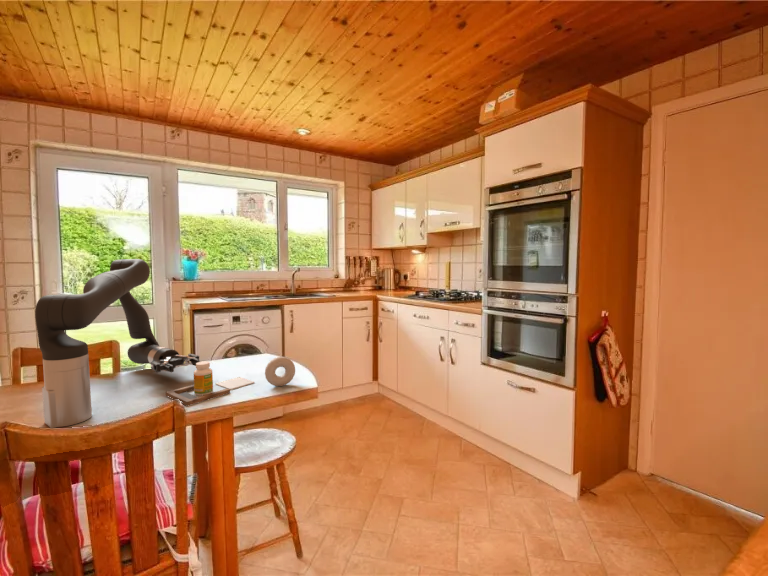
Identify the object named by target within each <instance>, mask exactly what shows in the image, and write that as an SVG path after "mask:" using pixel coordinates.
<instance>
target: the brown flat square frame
mask: <svg viewBox="0 0 768 576" xmlns="http://www.w3.org/2000/svg"><path fill="white" fill-rule="evenodd" d="M191 391H194V384H191V385H187V386H183V387H180V388H179V387H178V388H176V389H171V390H168V391H165V397H167V396H169V397H168V398H170V397H171V398H170V399H172V398H173V399H172V400H174V399H179V400H180V401H182V402H183V404H182V405H185V406H186V405H187V406H188V405H189V406H192V405H195V404H198V402H199V403H201V402H205V401H209V400H211V399H215V398H218V397H221V396H224V395H228V394H231V390H230V389H228V388H227V389H226V388H223V389H221V390H217V391H213V392H212V393H210V394H206V395H198V396H197V395H195V394H194V395H193V394H191V393H189V392H191ZM208 399H209V400H208ZM187 406H186V407H187ZM189 406H188V407H189Z"/></svg>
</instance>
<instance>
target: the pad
mask: <svg viewBox="0 0 768 576" xmlns="http://www.w3.org/2000/svg"><path fill="white" fill-rule="evenodd" d="M249 384H250V385H252V384H255V381H253V380H251V379H250V380H249V379H246V378H244V377H241V376H238V377H237V376H236V377H233V378H231V379H227V380H223V381H220V382H216V383H215V385H216V386H218V387H221V388H223V389H227V388H228V389H230V391H231V390H232V389H233V390H237V389H239V387H240V388H242V387H243V388H244V387H246V386H249ZM233 390H232V391H233Z"/></svg>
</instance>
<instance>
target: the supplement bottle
mask: <svg viewBox="0 0 768 576" xmlns="http://www.w3.org/2000/svg"><path fill="white" fill-rule="evenodd" d="M210 365H211V363H210V361H207V360H206V361H205V360H204V361H203V360H202V361H200V362H198V363H196V366H195V368H196V369H195V370H194V371H193V385H194V390H193V392H194V396H203V395H206V394H210V393H213V392H214V385H213V383H214V382H213V381H214V380H213V376H214V375H213V369H212V368H210Z"/></svg>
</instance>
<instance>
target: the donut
mask: <svg viewBox="0 0 768 576" xmlns="http://www.w3.org/2000/svg"><path fill="white" fill-rule="evenodd" d="M278 368H283V369H284V373H283V374H282V375H277V374H276V371H277V369H278ZM264 375H265V379H266V381H267V383H269V384H270V385H272V386H275V387H282V386H287V384H290V383H291V381H292V380H293V379H294V377H295V375H296V366H295V364H294V362H293V360H291V359H290V358H288V357H286V356H277V357H274V358H272V359H271V360H269V362H268V363H267V365H266V366H265V370H264Z"/></svg>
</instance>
